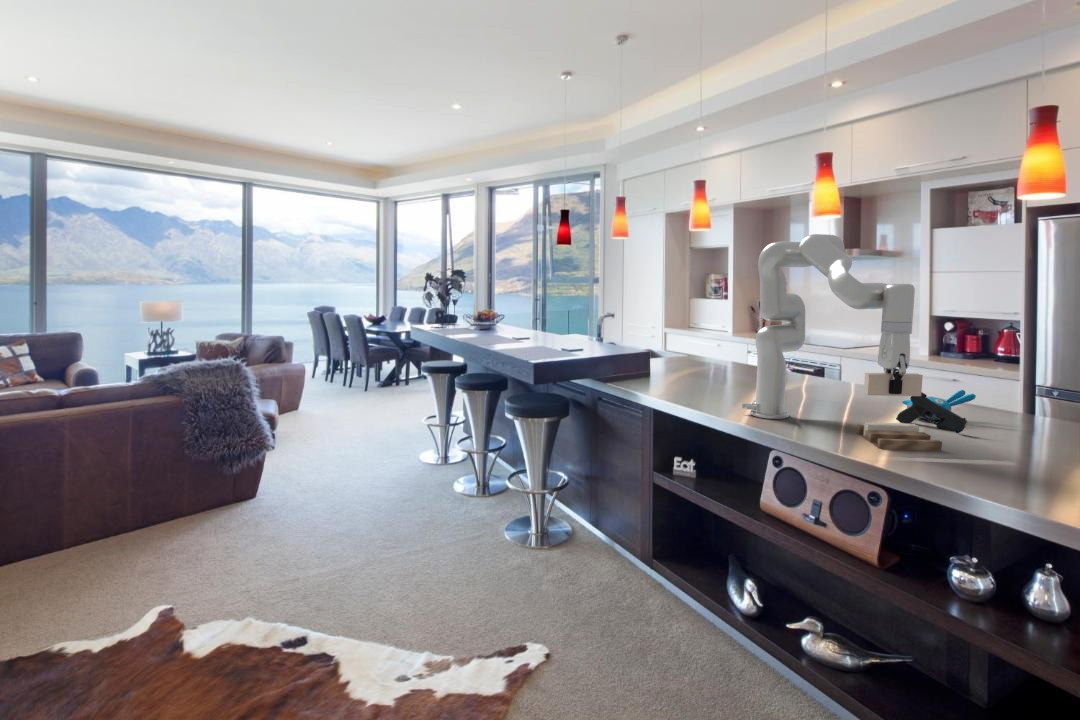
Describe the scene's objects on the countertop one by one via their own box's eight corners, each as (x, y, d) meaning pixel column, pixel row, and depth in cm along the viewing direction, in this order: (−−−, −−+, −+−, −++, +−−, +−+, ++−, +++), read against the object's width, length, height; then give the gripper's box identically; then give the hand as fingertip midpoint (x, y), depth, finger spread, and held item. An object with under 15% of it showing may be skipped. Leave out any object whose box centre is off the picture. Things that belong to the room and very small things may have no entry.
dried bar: (867, 437, 182) (868, 424, 181) (863, 435, 185) (864, 422, 184) (917, 439, 180) (919, 426, 179) (913, 436, 183) (914, 423, 182)
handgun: (896, 418, 203) (916, 388, 198) (948, 449, 193) (971, 418, 187) (894, 419, 202) (914, 389, 196) (946, 451, 191) (969, 420, 186)
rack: (879, 452, 171) (880, 439, 170) (856, 436, 187) (857, 425, 187) (941, 454, 168) (942, 441, 168) (912, 438, 185) (913, 426, 185)
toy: (982, 428, 197) (985, 397, 196) (918, 425, 201) (920, 395, 199) (954, 414, 216) (956, 386, 215) (896, 412, 220) (898, 384, 219)
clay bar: (867, 395, 173) (868, 374, 173) (863, 393, 176) (865, 372, 176) (921, 396, 171) (922, 375, 171) (916, 394, 174) (917, 373, 174)
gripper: (871, 325, 180) (867, 387, 182) (894, 330, 164) (889, 397, 166) (898, 326, 179) (894, 388, 181) (924, 330, 163) (919, 398, 165)
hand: (892, 392), depth 174 cm, fingers closed on clay bar, 3 cm apart
